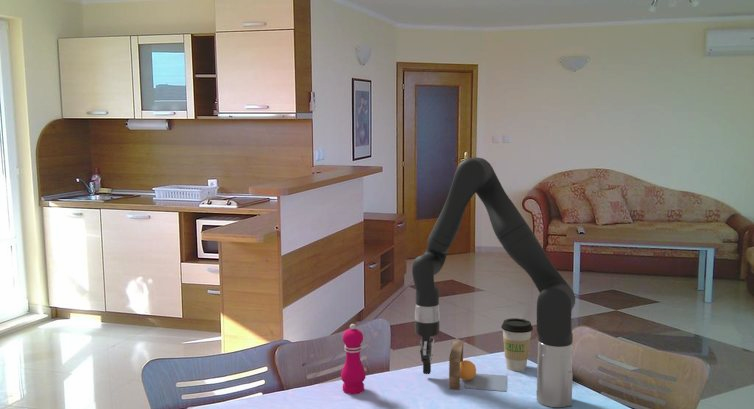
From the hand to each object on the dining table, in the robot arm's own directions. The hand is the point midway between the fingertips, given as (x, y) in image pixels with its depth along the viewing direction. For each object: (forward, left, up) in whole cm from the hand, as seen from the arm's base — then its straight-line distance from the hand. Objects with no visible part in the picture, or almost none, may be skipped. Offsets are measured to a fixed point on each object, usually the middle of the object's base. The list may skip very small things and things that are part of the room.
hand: (426, 373), depth 194 cm
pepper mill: (+20, +14, -2) cm, 24 cm away
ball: (-12, -1, +2) cm, 12 cm away
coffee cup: (-27, -14, -2) cm, 30 cm away
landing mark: (-18, 0, -2) cm, 18 cm away
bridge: (-9, 0, -2) cm, 9 cm away
